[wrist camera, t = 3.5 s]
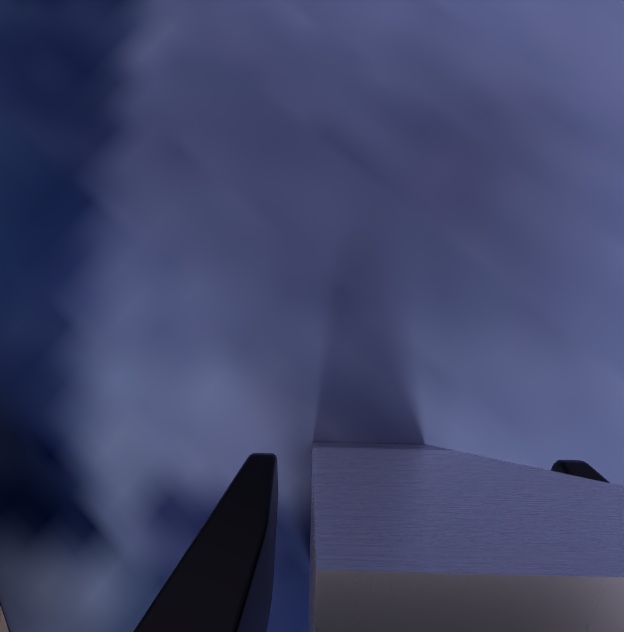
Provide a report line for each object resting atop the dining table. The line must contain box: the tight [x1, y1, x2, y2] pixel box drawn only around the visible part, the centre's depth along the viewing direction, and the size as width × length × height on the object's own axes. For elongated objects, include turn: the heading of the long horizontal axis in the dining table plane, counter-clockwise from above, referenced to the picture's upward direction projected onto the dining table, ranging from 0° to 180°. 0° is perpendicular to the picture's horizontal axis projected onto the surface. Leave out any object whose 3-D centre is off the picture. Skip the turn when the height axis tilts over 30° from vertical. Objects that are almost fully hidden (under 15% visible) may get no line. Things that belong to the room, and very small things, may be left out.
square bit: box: [309, 442, 624, 632], centre depth 8 cm, size 3×3×13 cm
